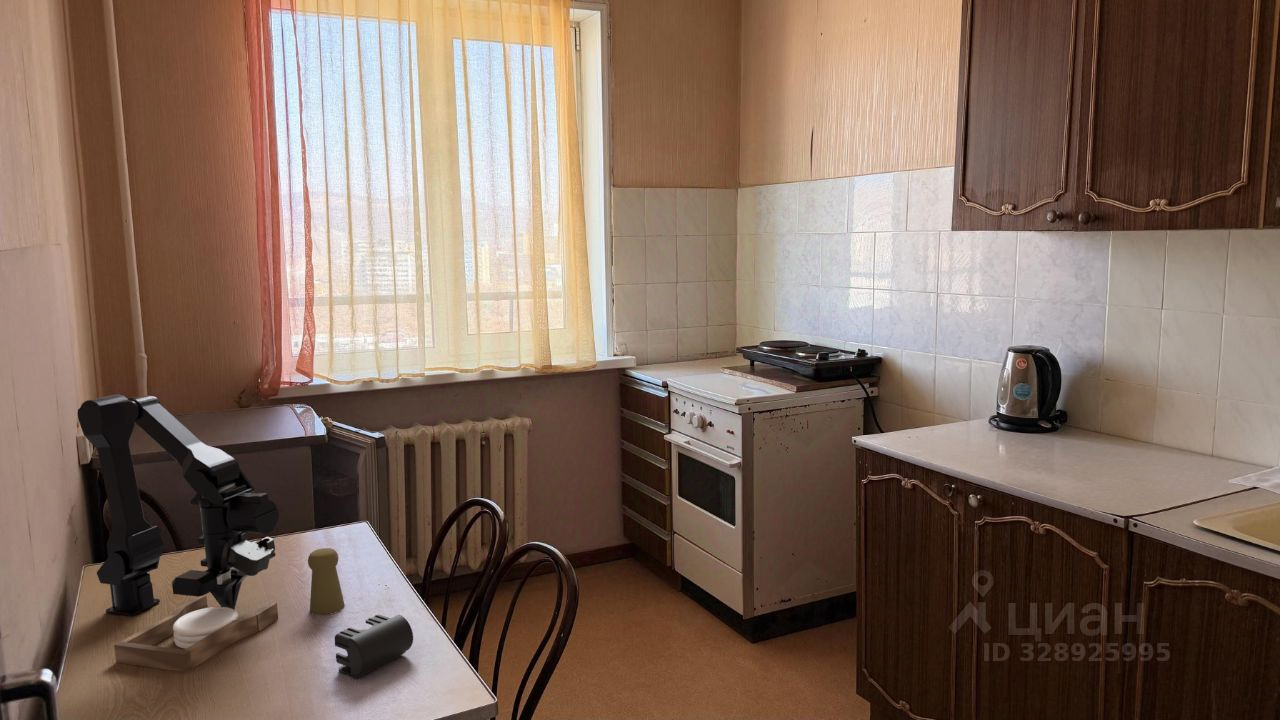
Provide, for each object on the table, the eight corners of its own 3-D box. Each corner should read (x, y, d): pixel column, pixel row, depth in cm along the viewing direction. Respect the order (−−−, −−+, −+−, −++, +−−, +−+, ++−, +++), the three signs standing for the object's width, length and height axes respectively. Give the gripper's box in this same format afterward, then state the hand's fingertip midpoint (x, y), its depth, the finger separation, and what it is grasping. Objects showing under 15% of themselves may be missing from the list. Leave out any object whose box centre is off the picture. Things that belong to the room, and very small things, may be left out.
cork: (333, 616, 158) (328, 557, 157) (302, 614, 160) (297, 555, 158) (351, 602, 164) (346, 545, 163) (321, 600, 165) (316, 543, 164)
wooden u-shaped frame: (202, 610, 163) (201, 594, 162) (278, 619, 158) (276, 602, 157) (109, 661, 144) (107, 644, 143) (192, 673, 139) (191, 655, 138)
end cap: (364, 685, 134) (361, 643, 133) (334, 673, 138) (331, 632, 137) (415, 658, 142) (412, 618, 141) (385, 647, 146) (382, 608, 145)
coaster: (186, 627, 156) (184, 608, 155) (246, 622, 157) (244, 603, 157) (165, 653, 146) (163, 633, 146) (229, 647, 148) (227, 627, 147)
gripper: (220, 551, 144) (230, 641, 147) (294, 514, 162) (302, 595, 164) (164, 546, 147) (175, 635, 150) (243, 511, 165) (251, 591, 167)
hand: (230, 613), depth 158 cm, fingers closed
